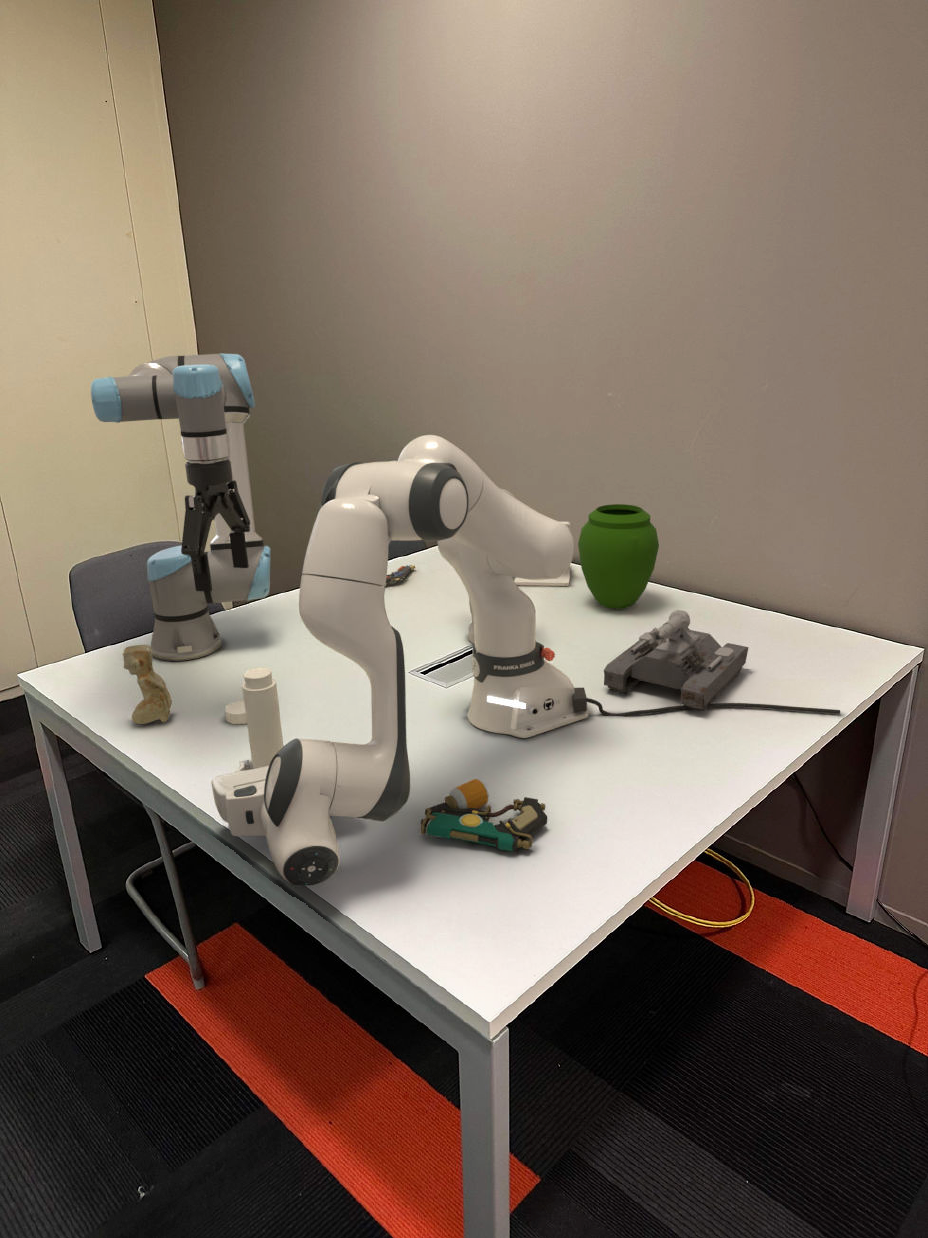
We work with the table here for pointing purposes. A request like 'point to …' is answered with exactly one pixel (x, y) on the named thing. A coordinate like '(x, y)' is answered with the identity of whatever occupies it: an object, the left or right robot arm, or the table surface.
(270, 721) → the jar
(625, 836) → the table surface
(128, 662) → the sculpture
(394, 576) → the toy gun
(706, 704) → the toy
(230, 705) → the lid
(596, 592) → the vase
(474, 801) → the spray gun
